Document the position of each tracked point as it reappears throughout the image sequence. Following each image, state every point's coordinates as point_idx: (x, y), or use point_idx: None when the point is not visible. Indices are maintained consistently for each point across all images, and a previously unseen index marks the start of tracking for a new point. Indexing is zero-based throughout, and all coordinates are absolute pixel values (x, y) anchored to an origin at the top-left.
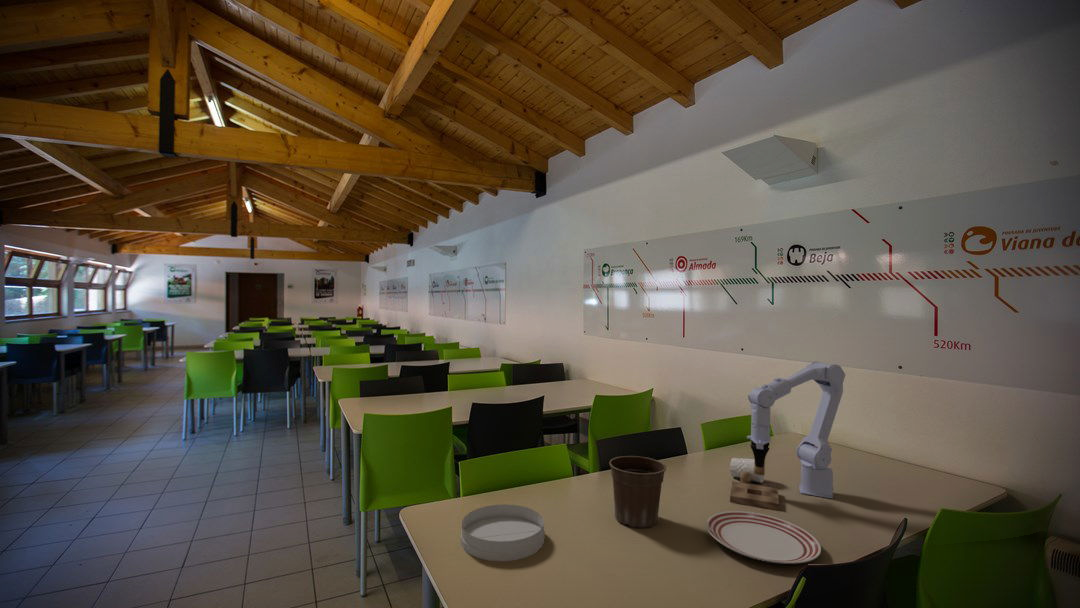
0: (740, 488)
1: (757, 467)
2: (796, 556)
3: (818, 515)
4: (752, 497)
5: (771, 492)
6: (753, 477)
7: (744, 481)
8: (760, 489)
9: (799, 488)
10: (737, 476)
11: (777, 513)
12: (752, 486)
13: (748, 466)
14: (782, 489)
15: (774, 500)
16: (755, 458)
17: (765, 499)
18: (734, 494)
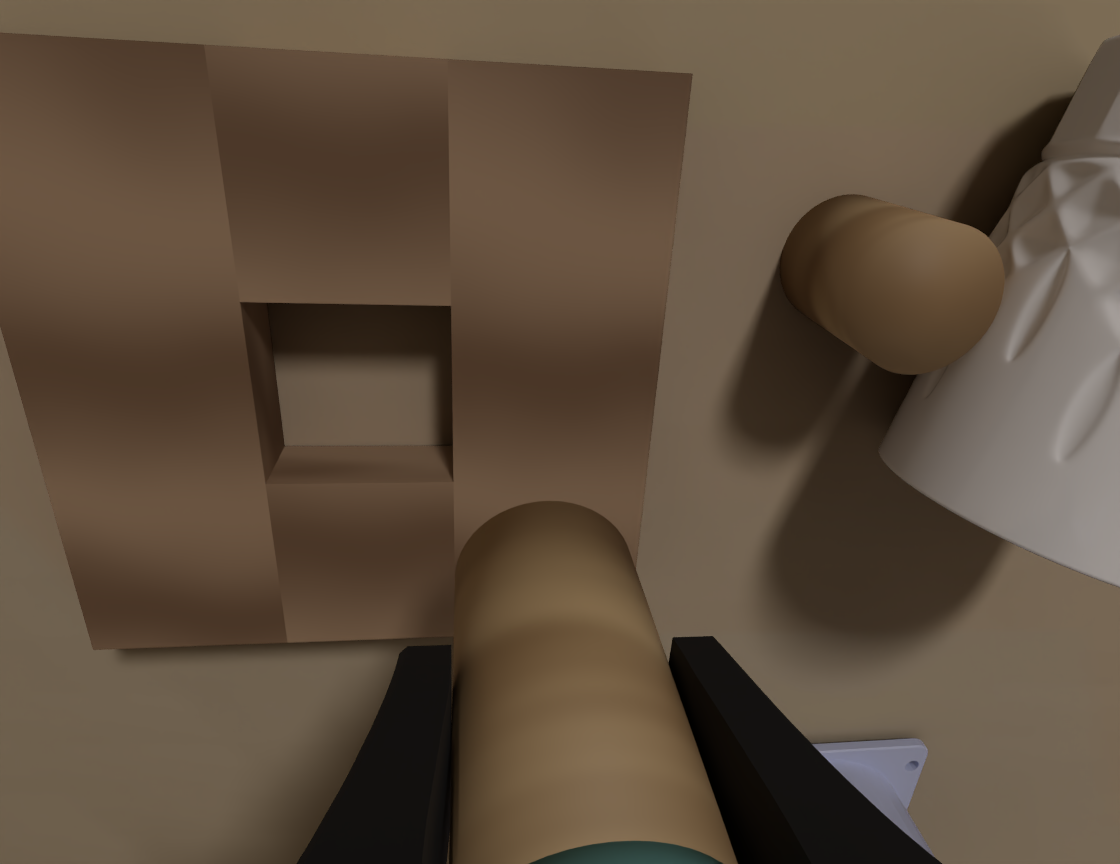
0: (399, 207)
1: (456, 648)
2: None
3: (235, 848)
4: (98, 377)
5: (448, 579)
6: (914, 389)
7: (809, 260)
8: (498, 467)
9: (822, 749)
10: (1041, 155)
11: (20, 589)
12: (575, 373)
13: (1071, 374)
14: (788, 622)
15: (177, 610)
16: (331, 827)
17: (141, 524)
18: (34, 107)
